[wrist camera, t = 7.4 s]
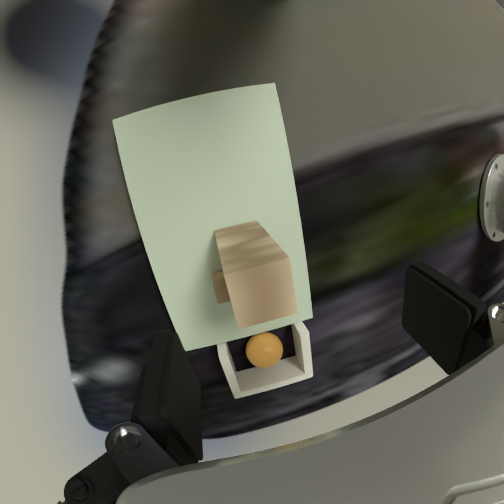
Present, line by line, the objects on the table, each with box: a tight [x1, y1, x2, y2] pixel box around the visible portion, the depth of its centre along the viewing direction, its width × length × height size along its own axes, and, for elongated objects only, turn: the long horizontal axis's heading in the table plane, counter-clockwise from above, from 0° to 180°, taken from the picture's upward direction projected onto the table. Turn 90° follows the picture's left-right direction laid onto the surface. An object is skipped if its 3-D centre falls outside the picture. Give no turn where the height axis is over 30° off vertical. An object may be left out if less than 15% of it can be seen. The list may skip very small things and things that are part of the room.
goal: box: [217, 321, 313, 399], centre depth 25 cm, size 8×6×3 cm
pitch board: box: [113, 83, 313, 351], centre depth 21 cm, size 12×20×1 cm, turn 11°
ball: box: [246, 332, 283, 368], centre depth 25 cm, size 3×3×3 cm
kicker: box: [212, 220, 298, 329], centre depth 18 cm, size 5×4×8 cm
